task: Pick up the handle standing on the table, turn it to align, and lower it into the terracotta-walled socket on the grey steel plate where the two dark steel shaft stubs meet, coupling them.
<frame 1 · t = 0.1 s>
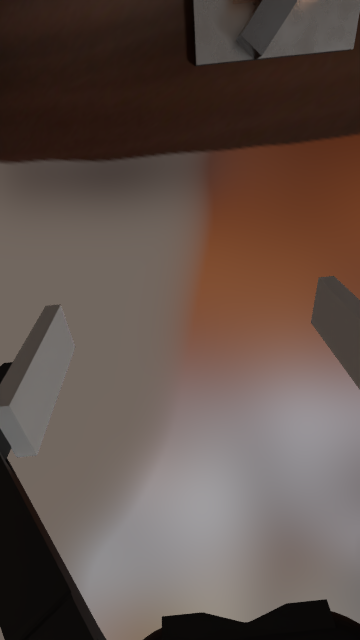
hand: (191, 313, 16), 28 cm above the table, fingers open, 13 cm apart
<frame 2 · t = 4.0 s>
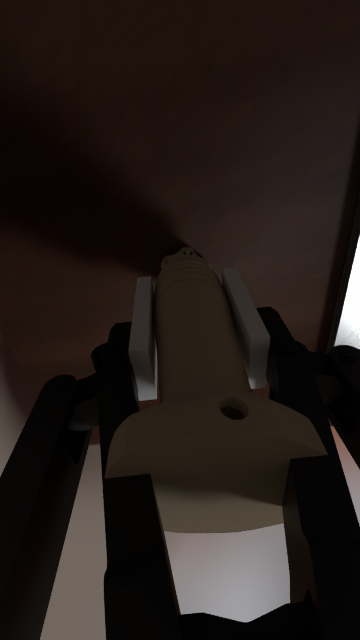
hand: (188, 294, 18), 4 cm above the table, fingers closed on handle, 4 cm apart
handle: (183, 267, 21), on the table, touching gripper
when the fingers open (6 cm above the table, at t = 9.2 s): handle drops 1 cm, resting on coupling base.
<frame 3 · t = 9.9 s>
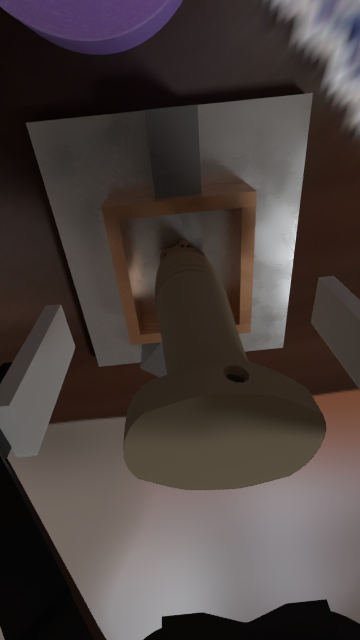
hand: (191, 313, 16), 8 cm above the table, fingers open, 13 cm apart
handle: (181, 259, 23), point 1 cm above the table, touching coupling base
coupling base: (181, 254, 23), on the table
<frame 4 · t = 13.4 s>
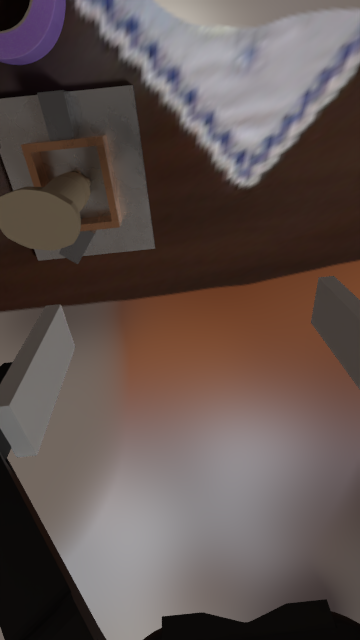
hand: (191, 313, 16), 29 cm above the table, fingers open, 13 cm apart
handle: (79, 184, 38), point 1 cm above the table, touching coupling base
coupling base: (81, 182, 39), on the table
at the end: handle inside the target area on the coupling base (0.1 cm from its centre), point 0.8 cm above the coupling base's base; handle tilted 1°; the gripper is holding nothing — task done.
